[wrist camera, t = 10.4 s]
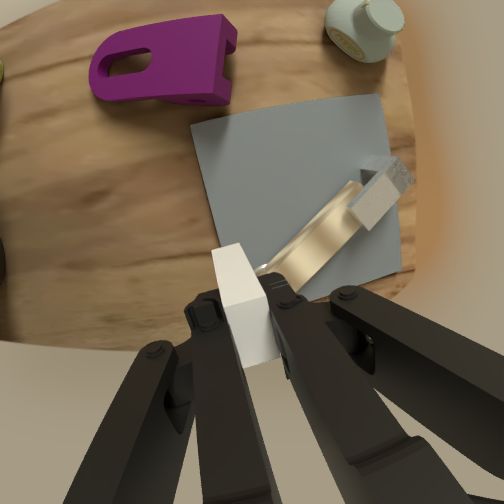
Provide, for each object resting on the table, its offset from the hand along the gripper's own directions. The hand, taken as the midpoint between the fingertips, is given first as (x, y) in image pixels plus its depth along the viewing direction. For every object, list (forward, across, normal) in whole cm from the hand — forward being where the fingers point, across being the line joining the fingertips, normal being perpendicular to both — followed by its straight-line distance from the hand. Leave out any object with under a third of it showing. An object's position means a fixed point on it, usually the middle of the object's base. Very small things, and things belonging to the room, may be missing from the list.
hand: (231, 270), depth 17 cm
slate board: (+26, +14, -4) cm, 30 cm away
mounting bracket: (+27, -2, +19) cm, 33 cm away
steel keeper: (+25, +21, -3) cm, 33 cm away
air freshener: (+27, +26, +20) cm, 42 cm away
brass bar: (+24, +12, -9) cm, 28 cm away
